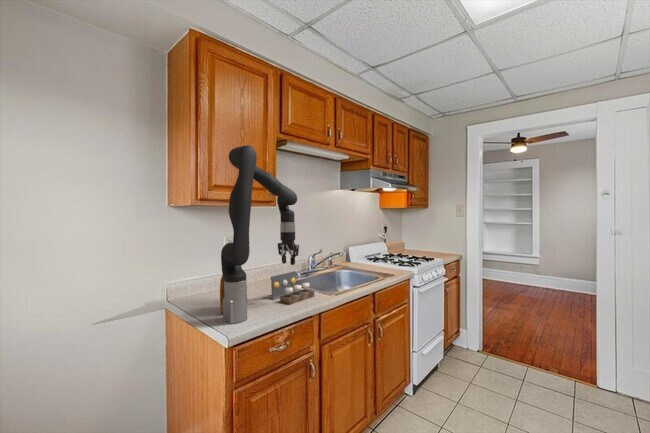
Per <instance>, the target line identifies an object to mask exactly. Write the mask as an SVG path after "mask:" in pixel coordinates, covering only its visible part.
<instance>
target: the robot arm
mask: <svg viewBox="0 0 650 433" xmlns="http://www.w3.org/2000/svg"><path fill="white" fill-rule="evenodd" d="M257 157H258V156H257V152H256V149H255V148H254V147H253V146H251V145H248V144H247V145H240V146H237V147H234V148H232V149H231V150H230V151H229V153H228V160H229V162H230V164H231V165H232V166H233V167H234V168H236V169H238V175H237V179H236V182H235V183H234V186H233V187H232V190H231V193H230V195H229V198H228V199H229V201H228V215H229V220H230V222H231V225H232V231H233V237H232V239H233V240H232V242H228V243H226V244H224V245H223V246H222V249H221V252H220V253H221V254H220V261H221V262H220V264H221V266H220V267H221V273H222V275H223V276H224V291H225V298H224V299H223V314H222V320H223V322H226V323H228V324H230V325H233V324H237V323H242V322H245V321H247V320H248V285H247V272H246V271H245V270H244V269H243V267H242V266H243V265H245V264H246V263H247V262H248V259H249V257H250V225H251V224H250V222H251V212H252V211H251V210H252V196H253V186H254V181H256V182H257V183H258V184H260V186H262V187H263V188H264V189H265V190H266V191H268V192H269V193H270V194H271V195H272V196H274V197H276V203H277V206H278V207H277V208H278V210H279V214H280V226H279V227H280V229H279V230H280V231H279V232H280V241H281V242H278V243H277V251H278V255H280V256H281V263H282V264H287V256H286V255H287V253H288V254H289V255H290V258H289V259H290V265H291V266H294V265H296V257H298V256H299V250H300V244H296V243H295V241H296V223H295V212H294V210H292V209H290V206H294V205H296V204H297V202H298V196H297V194H296V192H295V190H293V189H291V188H290V187H287V186H286V185H284V184H283V183H282V182H281V181H279V180H278V178H276V177H275V176H274V175H273V174H272V173H269V171H265V170H264V169H262V168H260V167H259V166H258V165H257V160H258V159H257Z"/></svg>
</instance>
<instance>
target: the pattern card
mask: <svg viewBox="0 0 650 433" xmlns="http://www.w3.org/2000/svg"><path fill="white" fill-rule="evenodd" d="M270 279H271V284H270V285H271V296H269V300H272V301H274V300H275V301H276V300H277V299H280V296H283V295H286V294H289V293H285V288H287V287H292V288H293V292H296V291H295V290H294V285H297V271H296V270H294V271H290V272H286V273H282V274H281V273H280V274H276V275H272V276H271V277H270Z"/></svg>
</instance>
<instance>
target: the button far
mask: <svg viewBox="0 0 650 433" xmlns="http://www.w3.org/2000/svg"><path fill="white" fill-rule="evenodd" d="M309 288H310V282H302V283H301V289H309Z"/></svg>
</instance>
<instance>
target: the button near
mask: <svg viewBox="0 0 650 433" xmlns="http://www.w3.org/2000/svg"><path fill="white" fill-rule="evenodd" d="M285 293H293V288H292V287H287V288H285Z"/></svg>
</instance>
